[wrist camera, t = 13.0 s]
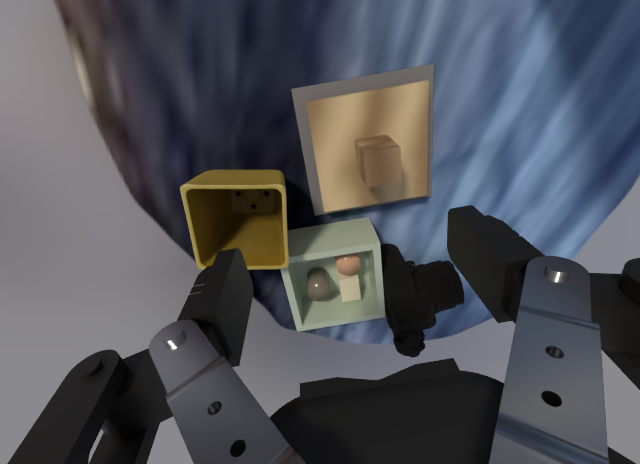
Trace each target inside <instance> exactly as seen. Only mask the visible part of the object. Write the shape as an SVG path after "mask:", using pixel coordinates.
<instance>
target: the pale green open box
mask: <svg viewBox="0 0 640 464" xmlns="http://www.w3.org/2000/svg"><path fill="white" fill-rule="evenodd" d="M287 233H288V251H289V266H288V268H283V269H280V270H281V273H282V277H283V281H284V284H285V288H286V292H287V295H288V299H289V303H290V306H291V310H292V314H293V317H294V321H295V325H296V329H297V331H304V330H310V329H316V328H322V327H329V326H335V325H341V324H348V323H354V322H360V321H367V320H373V319H379V318H385V305H384V291H383V277H382V263H381V249H380V241H379V239H378V236H377V234H376V232H375V230H374V227H373V225H372V223H371V220H370V218H369V217H365V218H359V219H353V220H347V221H341V222H335V223H329V224H323V225H317V226H311V227H305V228H299V229H293V230H287Z"/></svg>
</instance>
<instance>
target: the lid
mask: <svg viewBox="0 0 640 464" xmlns="http://www.w3.org/2000/svg"><path fill="white" fill-rule="evenodd" d="M306 106H307V112H308V118H309V124H310V130H311V136H312V142H313V148H314V154H315V160H316V166H317V172H318V178H319V184H320V190H321V196H322V202H323V208H324V212H330V211H336V210H342V209H348V208H354V207H360V206H366V205H372V204H378V203H384V202H390V201H396V200H402V199H408V198H414V197H420V196H426V195H427V173H428V113H429V81H420V82H414V83H409V84H403V85H397V86H392V87H386V88H380V89H375V90H369V91H363V92H357V93H352V94H346V95H340V96H335V97H329V98H323V99H317V100H312V101H306Z"/></svg>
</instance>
